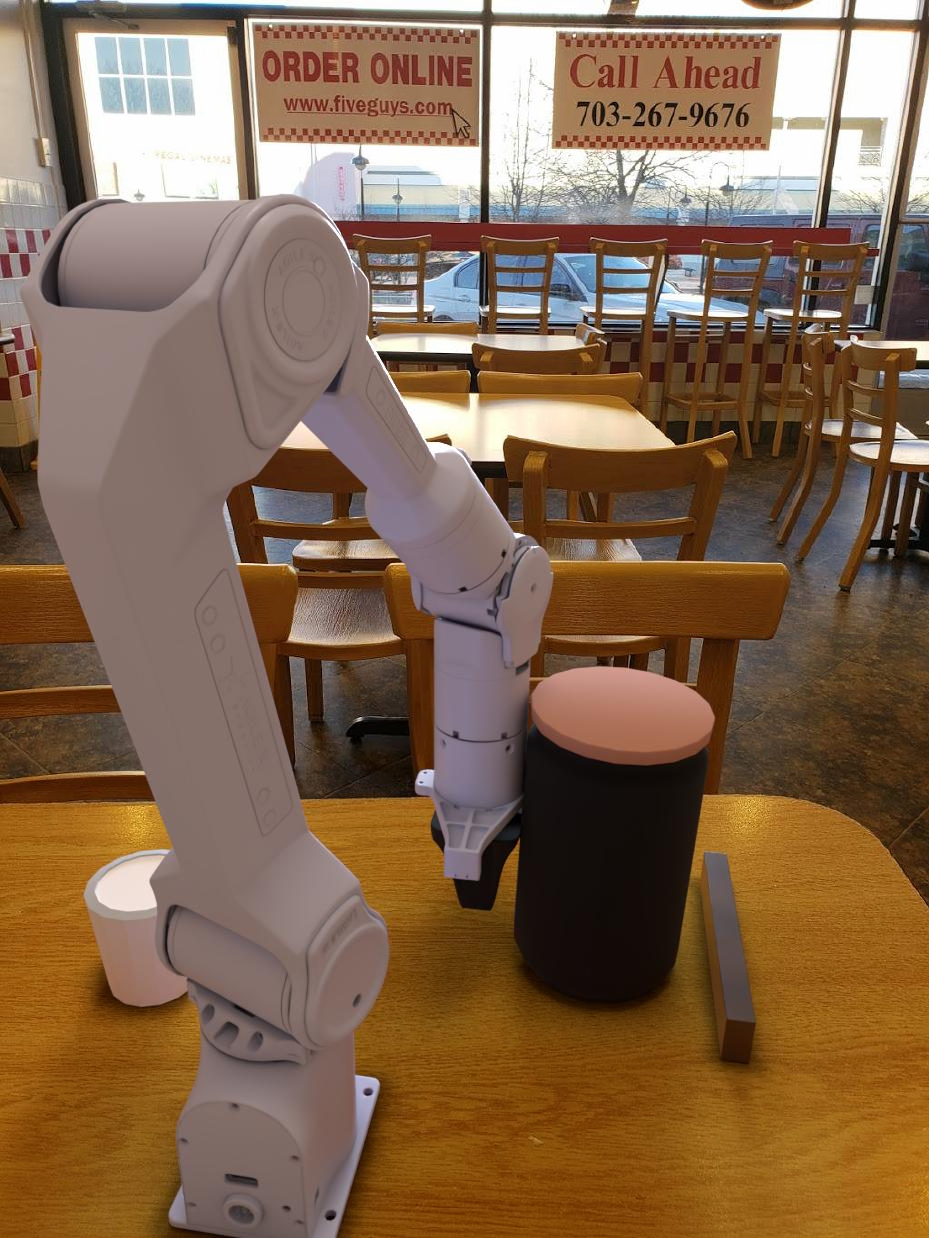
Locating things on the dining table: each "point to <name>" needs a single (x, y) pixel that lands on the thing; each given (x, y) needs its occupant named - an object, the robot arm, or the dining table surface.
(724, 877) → the bar
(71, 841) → the dining table surface
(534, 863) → the coffee jar
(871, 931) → the dining table surface
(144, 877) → the white cup
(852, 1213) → the dining table surface
